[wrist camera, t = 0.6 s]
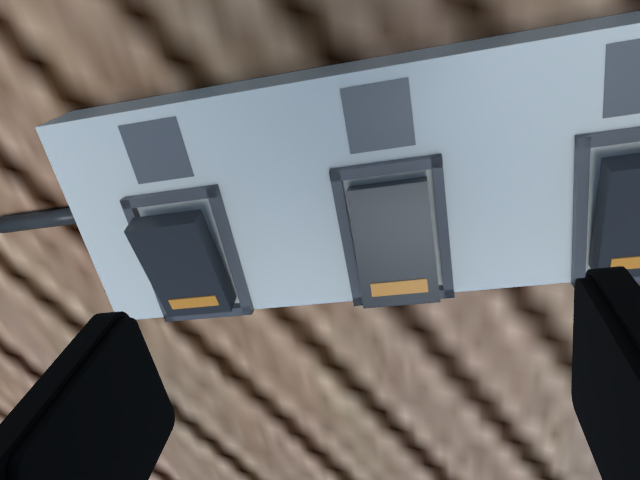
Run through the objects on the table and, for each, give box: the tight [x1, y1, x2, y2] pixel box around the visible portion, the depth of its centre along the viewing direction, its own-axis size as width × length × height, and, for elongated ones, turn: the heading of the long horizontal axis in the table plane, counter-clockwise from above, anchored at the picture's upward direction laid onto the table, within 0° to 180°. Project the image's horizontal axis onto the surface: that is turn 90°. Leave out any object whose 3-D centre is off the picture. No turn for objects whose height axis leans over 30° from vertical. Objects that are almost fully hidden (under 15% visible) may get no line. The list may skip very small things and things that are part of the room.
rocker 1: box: [124, 209, 236, 317], centre depth 32 cm, size 7×4×2 cm, turn 11°
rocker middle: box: [346, 176, 440, 308], centre depth 30 cm, size 7×4×2 cm, turn 10°
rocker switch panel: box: [0, 11, 640, 322], centre depth 32 cm, size 14×49×5 cm, turn 100°
